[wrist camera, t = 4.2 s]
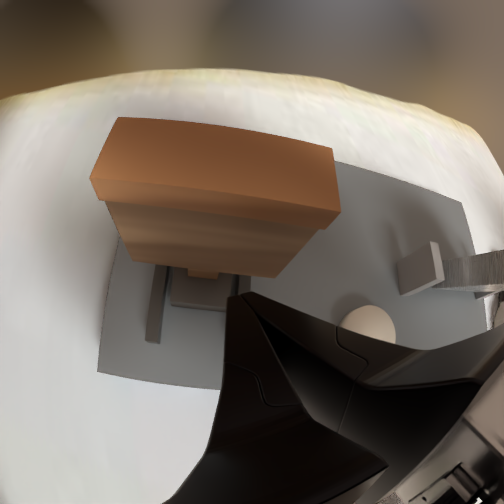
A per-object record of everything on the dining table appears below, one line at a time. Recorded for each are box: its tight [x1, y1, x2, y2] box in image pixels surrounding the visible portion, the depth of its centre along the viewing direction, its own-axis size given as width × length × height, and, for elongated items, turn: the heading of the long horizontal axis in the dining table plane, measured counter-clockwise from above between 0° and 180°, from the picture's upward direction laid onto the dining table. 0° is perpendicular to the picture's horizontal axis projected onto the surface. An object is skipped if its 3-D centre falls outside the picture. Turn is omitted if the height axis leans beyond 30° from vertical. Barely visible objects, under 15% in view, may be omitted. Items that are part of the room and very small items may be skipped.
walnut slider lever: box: [90, 117, 341, 312], centre depth 11 cm, size 4×6×9 cm, turn 87°
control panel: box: [97, 161, 500, 390], centre depth 17 cm, size 16×29×6 cm, turn 87°
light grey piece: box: [431, 250, 504, 292], centre depth 13 cm, size 2×8×11 cm, turn 87°
